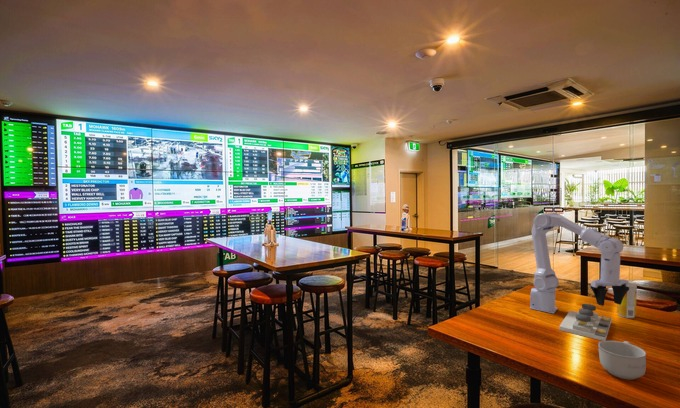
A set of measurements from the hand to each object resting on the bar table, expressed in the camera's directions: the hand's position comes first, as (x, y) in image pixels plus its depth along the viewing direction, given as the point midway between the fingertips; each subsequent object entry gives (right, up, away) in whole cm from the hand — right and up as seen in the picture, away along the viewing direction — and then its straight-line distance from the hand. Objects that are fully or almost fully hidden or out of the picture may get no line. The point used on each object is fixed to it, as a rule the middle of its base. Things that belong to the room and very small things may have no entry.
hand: (609, 304), depth 127 cm
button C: (-1, -6, +9) cm, 11 cm away
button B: (-7, -6, +3) cm, 10 cm away
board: (-7, -10, +3) cm, 12 cm away
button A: (-12, -7, -2) cm, 14 cm away
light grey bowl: (-19, -12, -29) cm, 37 cm away
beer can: (+18, -9, +13) cm, 24 cm away
